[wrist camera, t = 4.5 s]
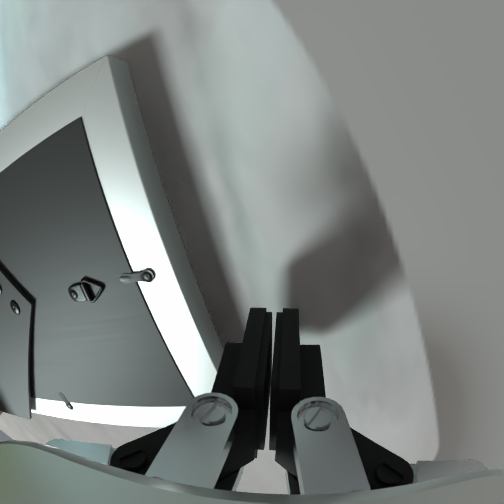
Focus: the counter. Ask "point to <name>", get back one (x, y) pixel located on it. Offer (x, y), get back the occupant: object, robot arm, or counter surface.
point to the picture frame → (95, 265)
